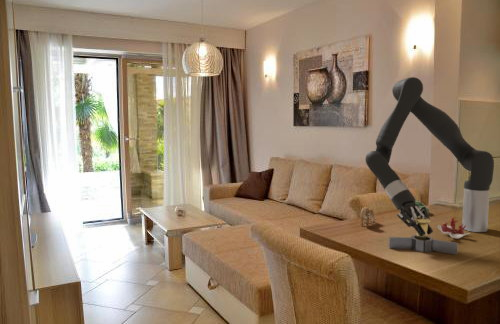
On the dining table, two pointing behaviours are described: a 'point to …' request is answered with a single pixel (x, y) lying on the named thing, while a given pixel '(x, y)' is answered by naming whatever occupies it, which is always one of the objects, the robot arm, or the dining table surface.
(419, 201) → the decorative artifact
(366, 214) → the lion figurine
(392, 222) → the dining table surface
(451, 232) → the figurine
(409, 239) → the hinge
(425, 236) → the hinge pin
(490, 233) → the dining table surface
